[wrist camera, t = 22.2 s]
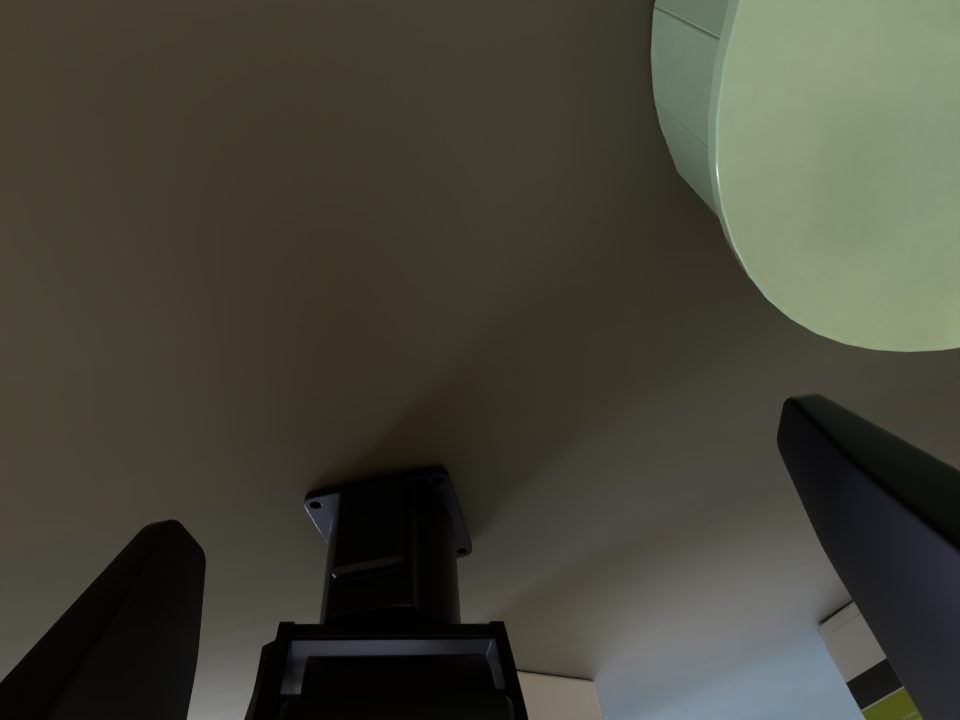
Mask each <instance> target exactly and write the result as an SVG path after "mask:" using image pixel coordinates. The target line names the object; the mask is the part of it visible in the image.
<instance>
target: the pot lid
mask: <svg viewBox="0 0 960 720" xmlns="http://www.w3.org/2000/svg"><path fill="white" fill-rule="evenodd" d="M708 163H709V170H710V177H711V184H712V190H713V197H714V203H715V206H716V210H717V213H718V216H719V219H720V222H721V225H722V228H723V232H724V235H725V238H726V240H727V242H728V244H729V246H730V247H731V249H732V251H733V253H734V255H735V257H736V259H737V261H738V263H739V265H740V266H741V268H742V269H743V270H744V272H745V273H746V274H747V275H748V277H749V278H750V279H751V281H752V282H753V283H754V284H755V286H756V287H757V288H758V289H759V291H760V292H761V293H762V294H763V295H764V296H765V298H766V299H767V300H768V301H770V302H771V303H772V304H773V305H774V306H775V307H777V308H778V309H779V310H780V311H781V312H782V313H784V314H785V315H786V316H787V317H788V318H790V319H791V320H793V321H795V322H796V323H798V324H800V325H802V326H803V327H805V328H807V329H809V330H810V331H812V332H814V333H816V334H819V335H821V336H824V337H827V338H830V339H832V340H835V341H838V342H841V343H843V344H848V345H853V346H858V347H863V348H868V349H873V350H884V351H899V352H918V351H938V350H947V349H954V348H960V0H729V2H728V6H727V10H726V14H725V18H724V23H723V27H722V31H721V35H720V39H719V44H718V48H717V52H716V56H715V61H714V70H713V78H712V86H711V94H710V102H709V111H708Z"/></svg>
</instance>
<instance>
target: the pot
mask: <svg viewBox="0 0 960 720" xmlns="http://www.w3.org/2000/svg"><path fill="white" fill-rule="evenodd" d="M728 2H729V0H655V5H654V11H653V22H652V39H651V68H652V84H653V94H654V100H655V106H656V109H657V114H658V119H659V124H660V127H661V129H662V132H663V135H664V138H665V141H666V144H667V146H668V149H669V152H670V154H671V156H672V158H673V160H674V163H675V166H676V169H677V171H678V173H679V175H680V176H681V177H682V178H683V179H684V180H685V182H686V183H687V184H688V185H689V186H690V187H691V188H692V190H693V191H694V192H695V193H696V194H697V195H698V197H699V198H700V199H701V200H702V201H703V202H704V203H705V205H706V206H707V207H708V208H709V209H710V210H711V211H712V213H713V214H714V215H715V216H716V217H717V218H718V219H719V216H718V213H717V210H716V206H715V203H714V197H713V190H712V184H711V177H710V170H709V163H708V111H709V102H710V94H711V86H712V78H713V70H714V61H715V56H716V52H717V48H718V44H719V39H720V35H721V31H722V27H723V23H724V18H725V14H726V10H727V6H728ZM719 221H720V219H719Z"/></svg>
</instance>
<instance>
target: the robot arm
mask: <svg viewBox="0 0 960 720" xmlns="http://www.w3.org/2000/svg"><path fill="white" fill-rule="evenodd" d="M777 443H778V448H779V451H780V454H781V456H782V458H783V461H784V463H785V465H786V467H787V470H788V472H789V474H790V476H791V479H792V481H793V483H794V485H795V488H796V490H797V492H798V494H799V497H800V499H801V501H802V503H803V506H804V508H805V510H806V512H807V515H808V517H809V519H810V521H811V524H812V526H813V528H814V530H815V532H816V535H817V537H818V539H819V541H820V543H821V545H822V547H823V549H824V551H825V553H826V554H827V556H828V558H829V560H830V562H831V563H832V565H833V567H834V569H835V570H836V572H837V574H838V575H839V577H840V579H841V580H842V582H843V584H844V586H845V587H846V589H847V591H848V592H849V594H850V596H851V598H852V599H853V601H854V603H855V604H856V606H857V608H858V609H859V611H860V613H861V615H862V616H863V618H864V620H865V621H866V623H867V625H868V627H869V628H870V630H871V632H872V633H873V635H874V637H875V638H876V640H877V642H878V644H879V645H880V647H881V649H882V650H883V652H884V654H885V656H886V657H887V659H888V661H889V662H890V664H891V666H892V667H893V669H894V671H895V673H896V674H897V676H898V678H899V679H900V681H901V683H902V685H903V686H904V688H905V690H906V691H907V693H908V695H909V696H910V698H911V700H912V702H913V703H914V705H915V707H916V708H917V710H918V712H919V713H920V715H921V717H922V719H923V720H960V470H958V469H956V468H954V467H952V466H950V465H949V464H947V463H945V462H943V461H941V460H939V459H938V458H936V457H934V456H932V455H930V454H929V453H927V452H925V451H923V450H921V449H919V448H918V447H916V446H914V445H912V444H910V443H908V442H907V441H905V440H903V439H901V438H899V437H898V436H896V435H894V434H892V433H890V432H888V431H887V430H885V429H883V428H881V427H879V426H877V425H876V424H874V423H872V422H870V421H868V420H867V419H865V418H863V417H861V416H859V415H857V414H856V413H854V412H852V411H850V410H848V409H846V408H845V407H843V406H841V405H839V404H837V403H836V402H834V401H832V400H830V399H828V398H826V397H825V396H823V395H820V394H817V393H808V394H803V395H798V396H793V397H790V398H787V399H786V401H785V402H784V404H783V408H782V414H781V419H780V424H779V429H778V434H777ZM436 477H439V478H436ZM304 506H305V508H306V510H307V512H308V513H309V515H310V517H311V518H312V520H313V522H314V523H315V525H316V526H317V528H318V530H319V531H320V533H321V535H322V536H323V538H324V540H325V541H326V543H327V545H328V546H329V548H328V556H327V565H326V573H325V582H324V590H323V598H322V607H321V615H320V624H295V622H280V623H279V627H278V632H277V636H276V638H275V641H273V642H271V643H269V644H267V645H265V646H263V647H262V651H261V657H260V662H259V667H258V672H257V677H256V682H255V687H254V691H253V694H252V698H251V701H250V704H249V707H248V710H247V713H246V716H245V719H244V720H529V719H528V714H527V710H526V706H525V702H524V698H523V694H522V690H521V686H520V682H519V678H518V674H517V671H516V667H515V663H514V659H513V655H512V651H511V647H510V643H509V639H508V636H507V632H506V628H505V624H504V621H490V623H489V624H461V617H460V603H459V589H458V575H457V561H456V558H458V557H464V556H467V555H469V554H470V553H471V552H472V543H471V539H470V536H469V534H468V531H467V528H466V525H465V522H464V519H463V516H462V513H461V510H460V507H459V504H458V501H457V498H456V495H455V492H454V489H453V486H452V483H451V480H450V477H449V474H448V472H447V470H446V469H444V468H442V467H431V468H426V469H421V470H416V471H411V472H406V473H401V474H396V475H391V476H386V477H381V478H376V479H371V480H366V481H361V482H356V483H350V484H345V485H340V486H335V487H330V488H325V489H320V490H315V491H311V492H309V493H307V494H306V496H305V502H304ZM205 568H206V560H205V554H204V552H203V549H202V548H201V546H200V545H199V544H198V543H197V542H196V540H195V539H194V538H193V537H192V536H191V535H190V533H189V532H188V531H187V530H186V529H185V528H184V526H183V525H182V524H181V523H180V522H178V521H176V520H166V521H161V522H156V523H151V524H149V525H147V526H145V527H144V528H143V529H142V530H141V531H140V532H139V533H138V534H137V535H136V536H135V537H134V538H133V539H132V540H131V541H130V542H129V544H128V545H127V546H126V547H125V548H124V549H123V550H122V551H121V552H120V553H119V554H118V555H117V557H116V558H115V559H114V560H113V561H112V562H111V563H110V564H109V565H108V566H107V567H106V569H105V570H104V571H103V572H102V573H101V574H100V575H99V576H98V577H97V578H96V579H95V580H94V582H93V583H92V584H91V585H90V586H89V587H88V588H87V589H86V590H85V591H84V592H83V594H82V595H81V596H80V597H79V598H78V599H77V600H76V601H75V602H74V603H73V604H72V605H71V607H70V608H69V609H68V610H67V611H66V612H65V613H64V614H63V615H62V616H61V617H60V618H59V620H58V621H57V622H56V623H55V624H54V625H53V626H52V627H51V628H50V629H49V630H48V632H47V633H46V634H45V635H44V636H43V637H42V638H41V639H40V640H39V641H38V642H37V643H36V645H35V646H34V647H33V648H32V649H31V650H30V651H29V652H28V653H27V654H26V655H25V657H24V658H23V659H22V660H21V661H20V662H19V663H18V664H17V665H16V666H15V667H14V668H13V670H12V671H11V672H10V673H9V674H8V675H7V676H6V677H5V678H4V679H3V680H2V682H1V683H0V720H186V719H187V714H188V709H189V704H190V699H191V693H192V688H193V683H194V677H195V671H196V665H197V658H198V649H199V638H200V627H201V615H202V603H203V591H204V580H205Z"/></svg>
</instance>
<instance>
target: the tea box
mask: <svg viewBox="0 0 960 720" xmlns="http://www.w3.org/2000/svg"><path fill="white" fill-rule="evenodd" d="M817 632H818V634H819V635H820V637H821V639H822V641H823V642H824V644H825V646H826V648H827V650H828V652H829V654H830V656H831V658H832V660H833V662H834V664H835V665H836V667H837V669H838V671H839V673H840V674H841V676H842V678H843V679H844V681H845V683H846V684H847V686H848V688H849V690H850V692H851V694H852V695H853V697H854V699H855V701H856V703H857V705H858V707H859V709H860V711H861V712H862V714H863V716H864V718H865V719H866V720H923V719H922V717H921V715H920V713H919V712H918V710H917V708H916V707H915V705H914V703H913V702H912V700H911V698H910V696H909V695H908V693H907V691H906V690H905V688H904V686H903V685H902V683H901V681H900V679H899V678H898V676H897V674H896V673H895V671H894V669H893V667H892V666H891V664H890V662H889V661H888V659H887V657H886V656H885V654H884V652H883V650H882V649H881V647H880V645H879V644H878V642H877V640H876V638H875V637H874V635H873V633H872V632H871V630H870V628H869V627H868V625H867V623H866V621H865V620H864V618H863V616H862V615H861V613H860V611H859V609H858V608H857V606H856V604H855V603H854V602H852V603H851V604H849V605H848V606H846V607H845V608H844V609H842V610H841V611H839V612H838V613H837V614H835V615H834V616H832V617H831V618H830V619H828V620H827V621H825V622H824V623H823V624H822V625H821V626H820V627H818V629H817Z"/></svg>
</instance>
